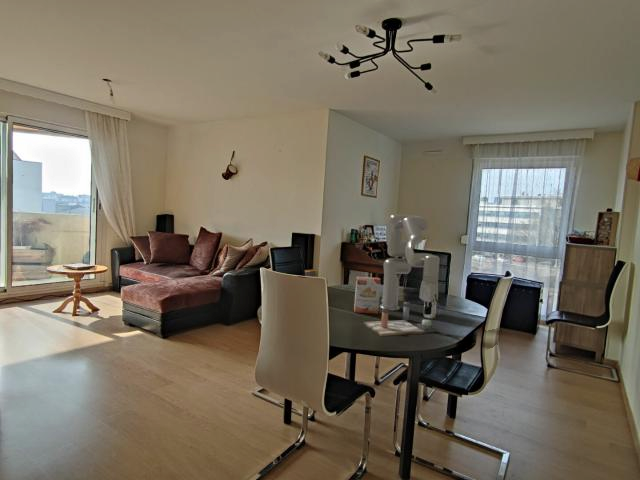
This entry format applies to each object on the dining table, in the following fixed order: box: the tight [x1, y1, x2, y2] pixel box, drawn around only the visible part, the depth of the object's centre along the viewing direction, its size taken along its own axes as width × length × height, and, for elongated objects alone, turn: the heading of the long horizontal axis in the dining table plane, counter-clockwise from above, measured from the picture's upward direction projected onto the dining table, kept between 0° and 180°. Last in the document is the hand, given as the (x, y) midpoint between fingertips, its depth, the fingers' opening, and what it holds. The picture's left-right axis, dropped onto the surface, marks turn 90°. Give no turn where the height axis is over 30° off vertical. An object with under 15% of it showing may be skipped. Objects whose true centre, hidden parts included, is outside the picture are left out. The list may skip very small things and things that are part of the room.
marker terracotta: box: [381, 307, 390, 328], centre depth 190 cm, size 3×3×10 cm
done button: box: [421, 318, 432, 327], centre depth 194 cm, size 5×5×4 cm
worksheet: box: [363, 319, 425, 337], centre depth 193 cm, size 19×25×1 cm
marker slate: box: [402, 301, 411, 322], centre depth 210 cm, size 3×3×10 cm
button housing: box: [416, 322, 437, 334], centre depth 194 cm, size 7×7×2 cm
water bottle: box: [423, 304, 437, 320], centre depth 218 cm, size 7×7×25 cm
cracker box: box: [353, 276, 382, 315], centre depth 221 cm, size 14×6×21 cm, turn 92°
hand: (427, 314), depth 193 cm, fingers closed
